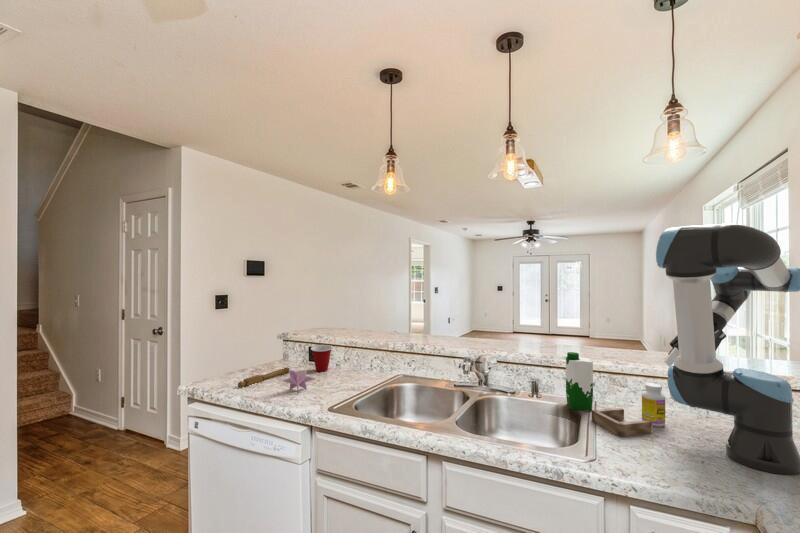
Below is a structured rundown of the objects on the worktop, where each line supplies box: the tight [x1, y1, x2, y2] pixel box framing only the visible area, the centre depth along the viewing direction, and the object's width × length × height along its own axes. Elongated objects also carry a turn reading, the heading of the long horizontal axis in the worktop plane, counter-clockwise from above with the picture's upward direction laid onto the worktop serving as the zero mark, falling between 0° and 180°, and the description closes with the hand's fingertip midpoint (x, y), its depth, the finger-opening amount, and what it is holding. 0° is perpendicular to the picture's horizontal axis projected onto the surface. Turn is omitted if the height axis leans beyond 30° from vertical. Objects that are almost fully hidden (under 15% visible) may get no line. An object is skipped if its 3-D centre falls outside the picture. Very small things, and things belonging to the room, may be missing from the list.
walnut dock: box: [591, 407, 653, 437], centre depth 130 cm, size 12×13×4 cm
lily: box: [282, 369, 316, 395], centre depth 167 cm, size 12×12×10 cm
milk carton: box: [565, 351, 594, 411], centre depth 148 cm, size 9×9×20 cm
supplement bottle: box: [641, 382, 666, 428], centre depth 133 cm, size 7×7×13 cm
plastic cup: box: [310, 344, 333, 373], centre depth 202 cm, size 11×11×12 cm
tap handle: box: [237, 366, 291, 388], centre depth 186 cm, size 3×3×30 cm
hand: (676, 366), depth 135 cm, fingers open, 7 cm apart
